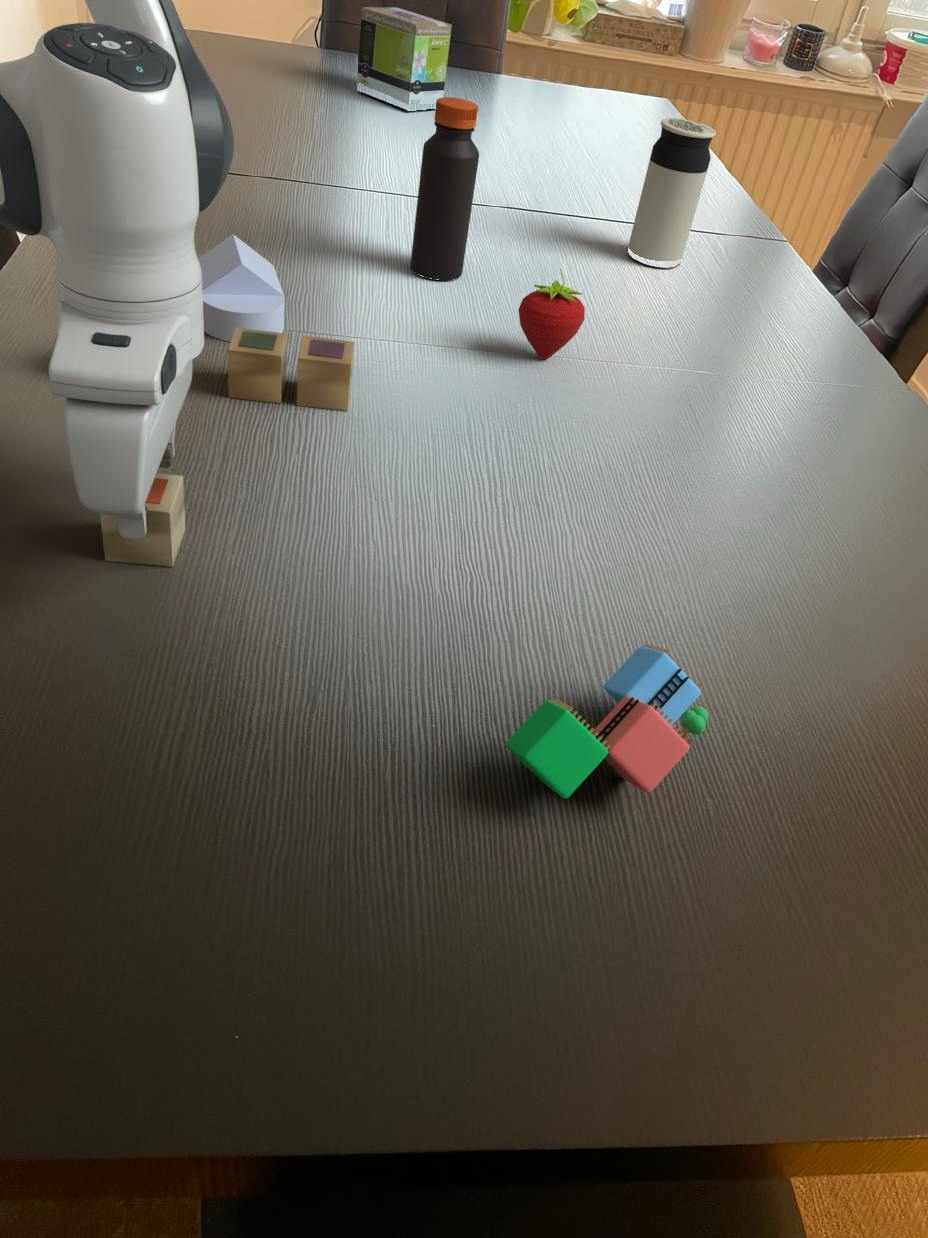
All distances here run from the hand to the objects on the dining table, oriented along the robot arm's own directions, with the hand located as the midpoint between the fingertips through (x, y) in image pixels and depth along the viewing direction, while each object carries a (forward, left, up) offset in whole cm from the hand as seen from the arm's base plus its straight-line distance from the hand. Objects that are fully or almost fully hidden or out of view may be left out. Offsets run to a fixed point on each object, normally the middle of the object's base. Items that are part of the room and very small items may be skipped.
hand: (148, 496), depth 73 cm
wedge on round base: (+1, +43, -5) cm, 43 cm away
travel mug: (+55, +80, -5) cm, 97 cm away
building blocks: (+33, -18, -5) cm, 38 cm away
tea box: (+16, +151, -5) cm, 152 cm away
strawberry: (+35, +42, -5) cm, 55 cm away
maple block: (0, 0, -4) cm, 4 cm away
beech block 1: (+5, +27, -4) cm, 28 cm away
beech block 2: (+11, +27, -4) cm, 29 cm away
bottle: (+23, +64, -5) cm, 68 cm away
